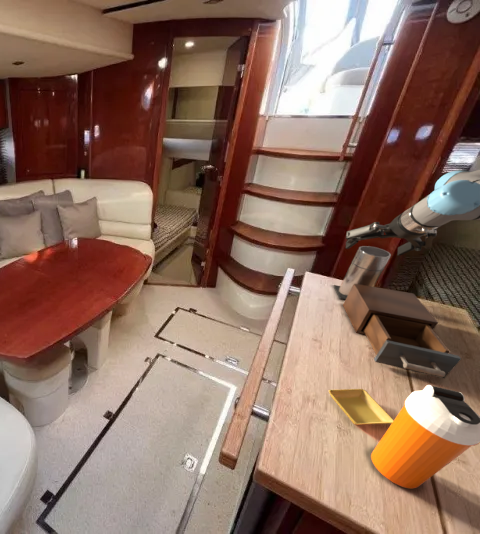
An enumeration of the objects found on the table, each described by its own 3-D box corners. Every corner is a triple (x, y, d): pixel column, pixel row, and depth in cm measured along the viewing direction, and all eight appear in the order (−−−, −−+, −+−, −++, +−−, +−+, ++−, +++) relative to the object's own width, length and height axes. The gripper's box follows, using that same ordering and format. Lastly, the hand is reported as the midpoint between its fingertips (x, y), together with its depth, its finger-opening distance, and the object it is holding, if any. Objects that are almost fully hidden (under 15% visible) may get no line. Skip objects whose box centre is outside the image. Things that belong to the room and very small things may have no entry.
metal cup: (362, 290, 109) (385, 248, 101) (370, 303, 103) (395, 259, 94) (335, 285, 112) (355, 244, 104) (341, 297, 106) (363, 254, 97)
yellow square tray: (392, 428, 66) (397, 422, 65) (352, 429, 66) (356, 424, 65) (359, 394, 73) (363, 388, 72) (324, 395, 73) (327, 389, 72)
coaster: (363, 291, 110) (364, 290, 109) (372, 305, 103) (372, 304, 102) (333, 286, 113) (333, 284, 113) (339, 299, 106) (340, 298, 106)
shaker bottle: (381, 487, 56) (443, 422, 46) (355, 440, 64) (404, 375, 54) (440, 500, 54) (518, 435, 44) (406, 450, 62) (467, 385, 52)
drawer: (454, 392, 72) (472, 371, 69) (381, 373, 77) (394, 354, 74) (419, 342, 86) (432, 323, 83) (359, 330, 91) (369, 311, 88)
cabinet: (420, 346, 86) (438, 322, 82) (355, 332, 91) (369, 309, 87) (399, 315, 98) (413, 293, 93) (342, 305, 103) (353, 283, 99)
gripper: (358, 227, 85) (326, 252, 105) (482, 241, 76) (421, 265, 95) (360, 203, 87) (328, 232, 106) (482, 214, 78) (422, 243, 97)
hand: (372, 248), depth 101 cm, fingers open, 13 cm apart
